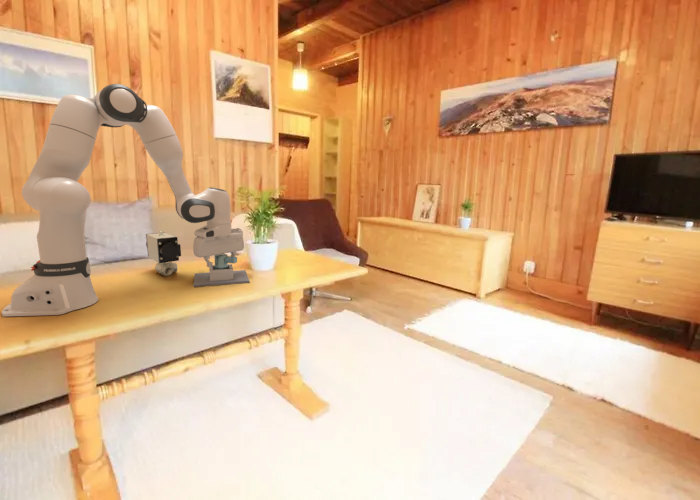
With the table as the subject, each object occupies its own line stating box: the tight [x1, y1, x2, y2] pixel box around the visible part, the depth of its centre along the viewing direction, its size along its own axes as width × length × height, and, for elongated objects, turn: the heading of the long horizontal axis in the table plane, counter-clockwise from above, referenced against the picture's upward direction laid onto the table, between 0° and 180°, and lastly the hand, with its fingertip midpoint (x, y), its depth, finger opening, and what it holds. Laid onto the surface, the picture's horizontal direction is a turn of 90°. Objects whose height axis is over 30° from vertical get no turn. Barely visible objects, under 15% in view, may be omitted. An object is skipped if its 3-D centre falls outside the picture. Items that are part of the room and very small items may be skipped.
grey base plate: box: [192, 263, 250, 288], centre depth 141 cm, size 20×16×5 cm
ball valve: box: [145, 230, 182, 277], centre depth 144 cm, size 18×8×18 cm, turn 46°
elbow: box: [213, 253, 238, 270], centre depth 140 cm, size 9×5×9 cm, turn 78°
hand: (220, 264), depth 140 cm, fingers open, 8 cm apart
